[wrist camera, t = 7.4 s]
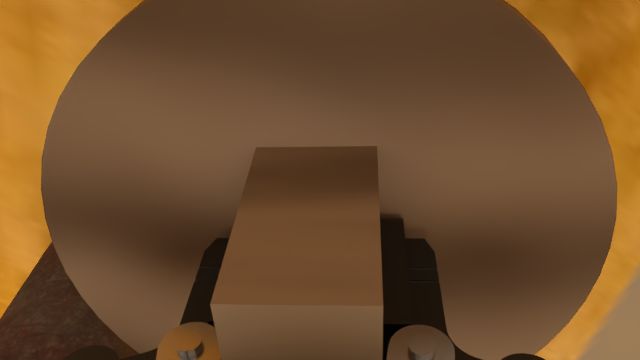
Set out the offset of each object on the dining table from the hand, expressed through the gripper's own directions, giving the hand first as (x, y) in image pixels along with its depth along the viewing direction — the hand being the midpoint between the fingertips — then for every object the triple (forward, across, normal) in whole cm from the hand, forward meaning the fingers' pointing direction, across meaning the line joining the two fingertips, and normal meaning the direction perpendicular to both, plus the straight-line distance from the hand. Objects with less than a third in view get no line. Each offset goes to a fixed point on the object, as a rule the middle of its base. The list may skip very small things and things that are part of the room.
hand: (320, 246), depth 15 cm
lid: (+1, 0, 0) cm, 1 cm away
